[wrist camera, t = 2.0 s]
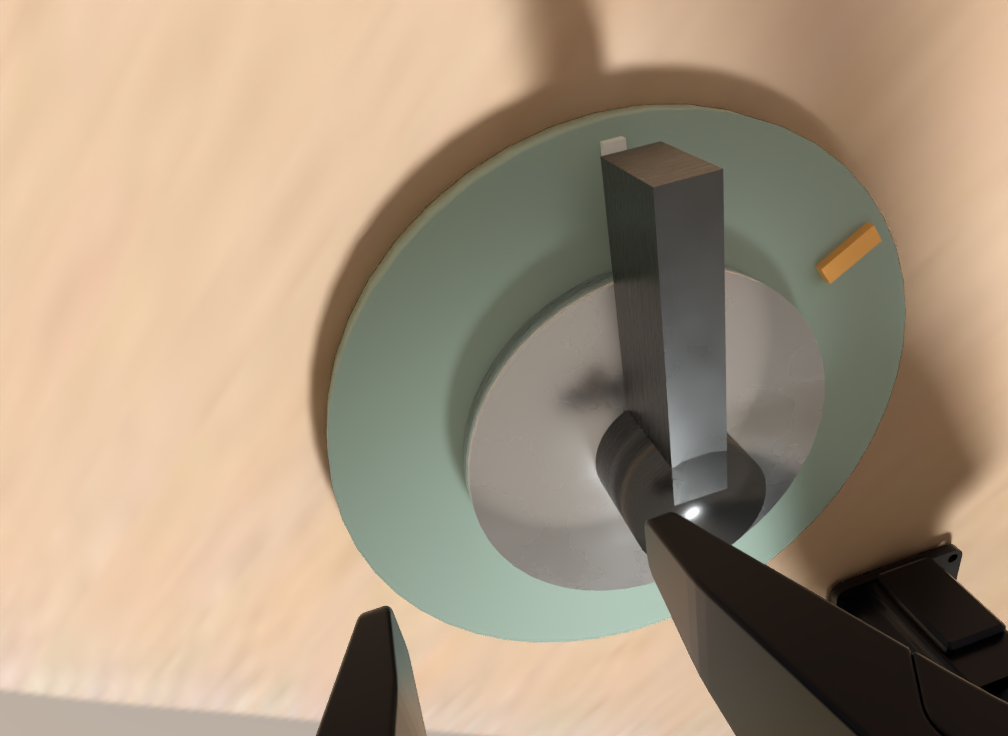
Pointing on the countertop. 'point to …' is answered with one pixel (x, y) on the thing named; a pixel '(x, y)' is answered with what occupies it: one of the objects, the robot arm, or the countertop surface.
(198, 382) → the countertop surface
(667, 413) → the dial
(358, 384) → the dial plate
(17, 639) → the countertop surface
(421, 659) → the countertop surface
